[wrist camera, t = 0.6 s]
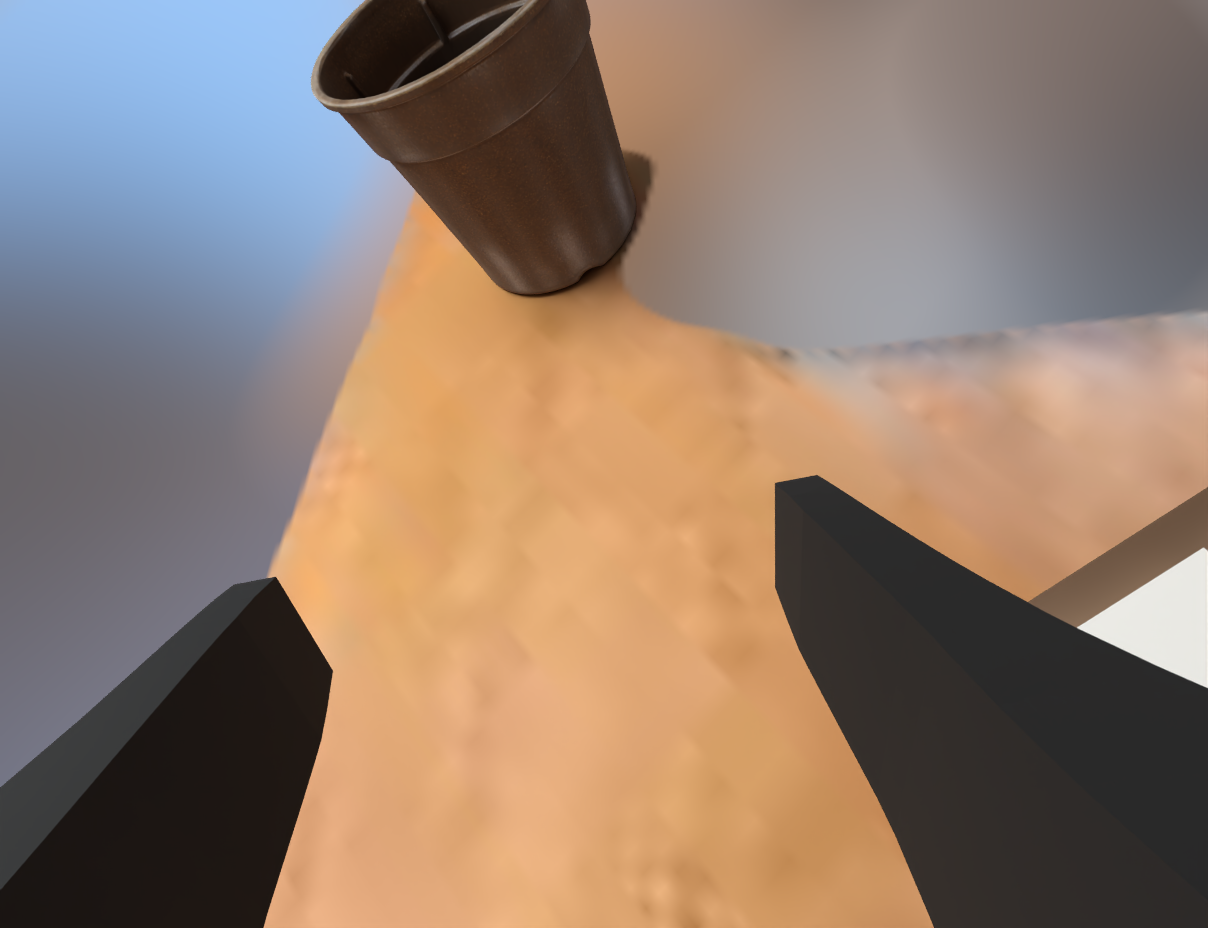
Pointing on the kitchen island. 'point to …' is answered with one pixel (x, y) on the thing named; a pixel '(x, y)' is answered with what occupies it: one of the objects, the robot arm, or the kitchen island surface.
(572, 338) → the kitchen island surface
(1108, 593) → the board
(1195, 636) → the tile
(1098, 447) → the kitchen island surface
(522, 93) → the plant pot
